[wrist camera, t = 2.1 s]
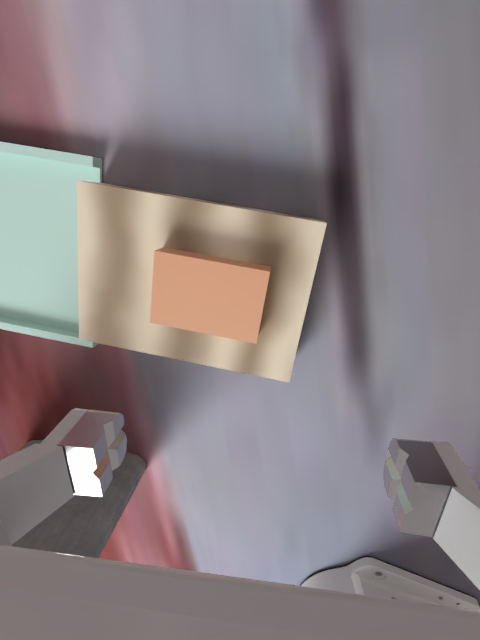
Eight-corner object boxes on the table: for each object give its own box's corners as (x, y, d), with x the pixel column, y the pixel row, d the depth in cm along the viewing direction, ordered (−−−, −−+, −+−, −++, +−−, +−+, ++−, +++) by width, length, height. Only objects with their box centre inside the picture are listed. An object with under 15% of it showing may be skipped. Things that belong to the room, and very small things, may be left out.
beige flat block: (322, 220, 29) (326, 223, 25) (289, 362, 34) (289, 382, 30) (102, 182, 31) (76, 180, 27) (100, 324, 36) (78, 339, 32)
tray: (102, 158, 30) (92, 156, 28) (100, 341, 36) (92, 347, 35) (-43, 135, 31) (-60, 131, 29) (-20, 317, 37) (-33, 321, 36)
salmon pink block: (271, 266, 27) (270, 271, 25) (258, 334, 29) (256, 343, 27) (163, 247, 28) (154, 250, 26) (158, 315, 30) (149, 322, 28)
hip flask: (28, 458, 44) (-166, 652, 25) (23, 432, 42) (-187, 617, 24) (146, 475, 42) (33, 697, 23) (145, 449, 41) (23, 662, 22)
